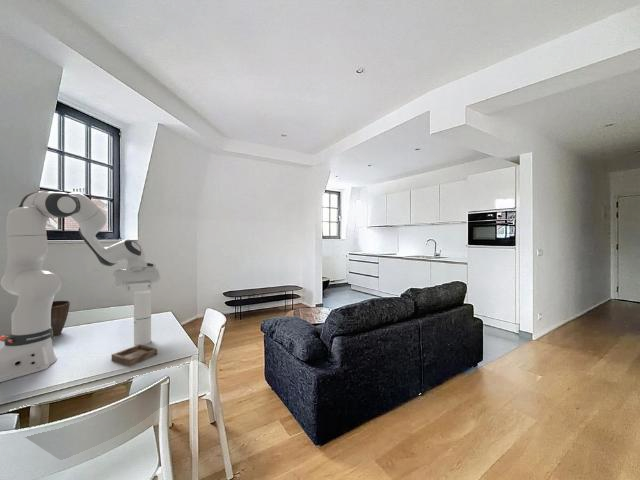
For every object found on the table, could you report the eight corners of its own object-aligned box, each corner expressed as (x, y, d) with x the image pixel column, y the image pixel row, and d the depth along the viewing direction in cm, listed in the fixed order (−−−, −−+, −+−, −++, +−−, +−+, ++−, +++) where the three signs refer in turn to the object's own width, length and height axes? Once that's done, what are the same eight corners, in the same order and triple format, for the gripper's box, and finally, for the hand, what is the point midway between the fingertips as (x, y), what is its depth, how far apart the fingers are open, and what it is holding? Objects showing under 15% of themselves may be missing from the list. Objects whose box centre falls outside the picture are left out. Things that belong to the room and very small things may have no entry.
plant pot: (41, 341, 135) (41, 309, 135) (23, 337, 140) (23, 306, 140) (76, 331, 149) (76, 302, 149) (59, 328, 154) (59, 299, 154)
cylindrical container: (145, 345, 133) (144, 293, 132) (130, 345, 133) (130, 293, 132) (154, 339, 140) (154, 290, 139) (140, 339, 140) (140, 290, 140)
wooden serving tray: (129, 366, 113) (129, 360, 112) (111, 360, 117) (111, 354, 117) (157, 354, 124) (157, 349, 123) (139, 349, 128) (139, 344, 128)
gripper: (113, 266, 144) (114, 288, 137) (158, 263, 157) (161, 283, 150) (113, 273, 148) (114, 295, 141) (157, 270, 161) (160, 290, 154)
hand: (139, 289), depth 145 cm, fingers open, 8 cm apart
